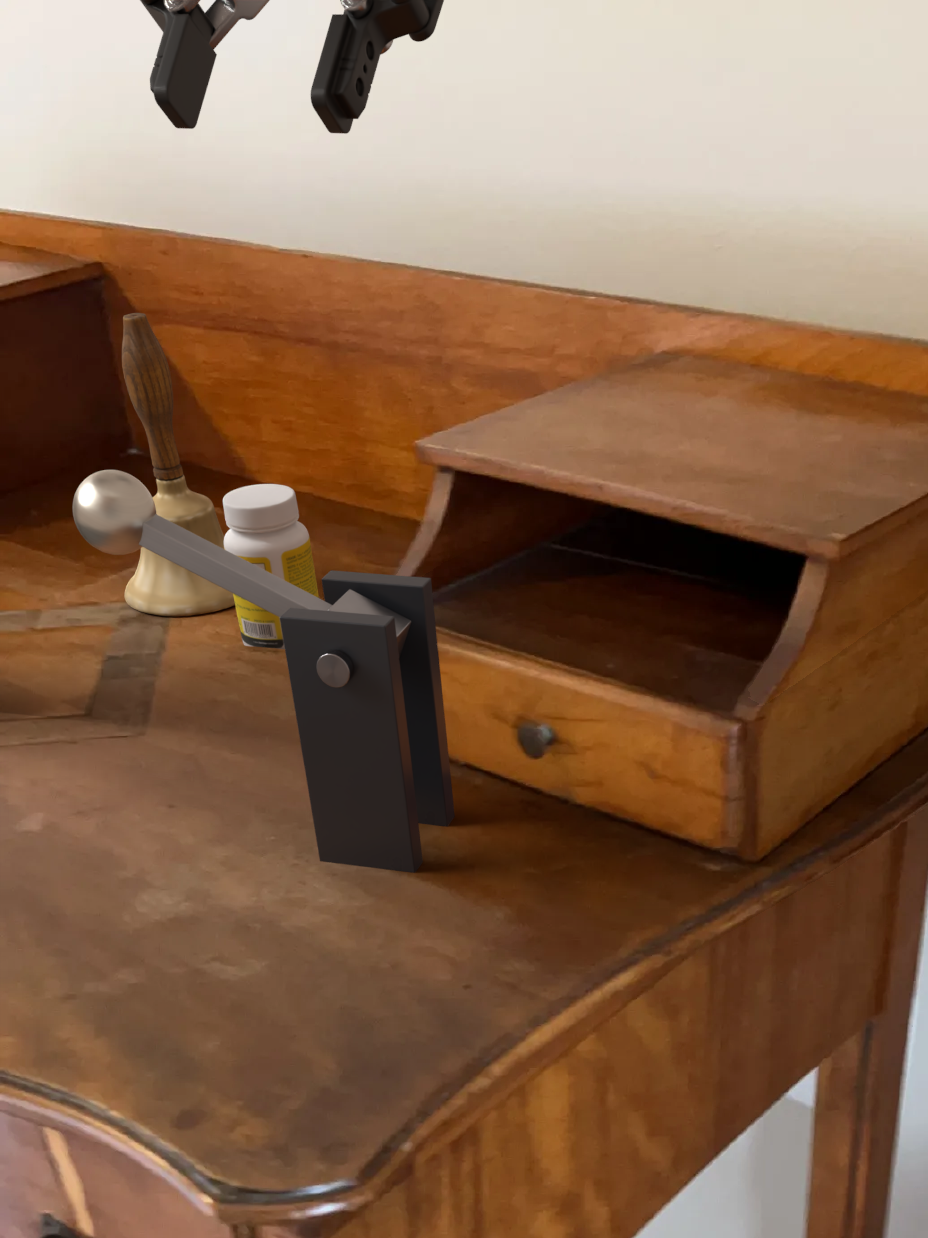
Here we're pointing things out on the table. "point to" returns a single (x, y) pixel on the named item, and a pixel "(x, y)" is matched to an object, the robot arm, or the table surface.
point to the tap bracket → (370, 721)
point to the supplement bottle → (267, 551)
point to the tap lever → (193, 549)
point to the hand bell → (166, 486)
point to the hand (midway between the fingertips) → (249, 116)
